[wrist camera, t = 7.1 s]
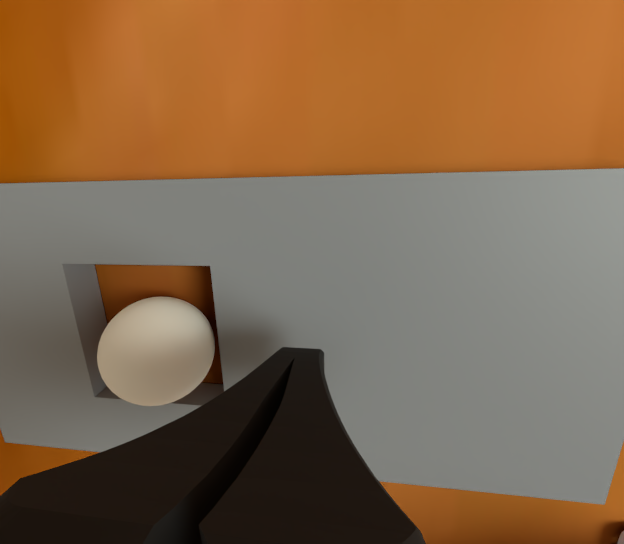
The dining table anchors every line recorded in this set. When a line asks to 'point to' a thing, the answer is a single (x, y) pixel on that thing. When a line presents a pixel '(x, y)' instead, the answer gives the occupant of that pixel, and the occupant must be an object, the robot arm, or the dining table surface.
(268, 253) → the board
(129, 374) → the ball
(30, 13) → the dining table surface
